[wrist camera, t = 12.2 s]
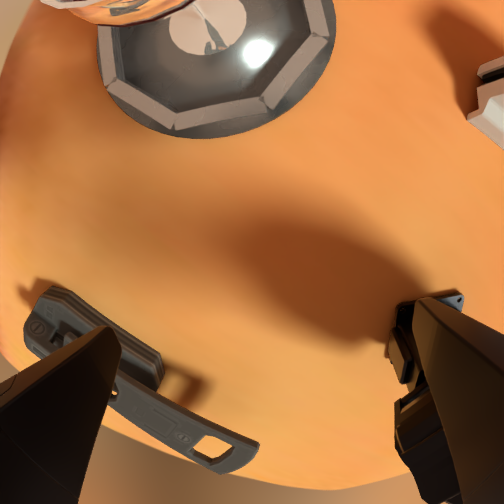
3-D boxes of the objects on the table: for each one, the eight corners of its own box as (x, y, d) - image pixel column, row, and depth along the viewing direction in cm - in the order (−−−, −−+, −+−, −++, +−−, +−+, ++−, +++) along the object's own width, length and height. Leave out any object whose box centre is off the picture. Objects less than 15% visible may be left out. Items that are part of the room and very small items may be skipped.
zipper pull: (224, 479, 25) (11, 366, 22) (232, 432, 31) (42, 330, 28) (270, 450, 21) (4, 308, 18) (273, 394, 27) (46, 273, 24)
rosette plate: (305, -72, 11) (307, -86, 9) (353, 121, 17) (361, 120, 15) (97, -20, 13) (84, -27, 12) (119, 161, 20) (105, 165, 18)
